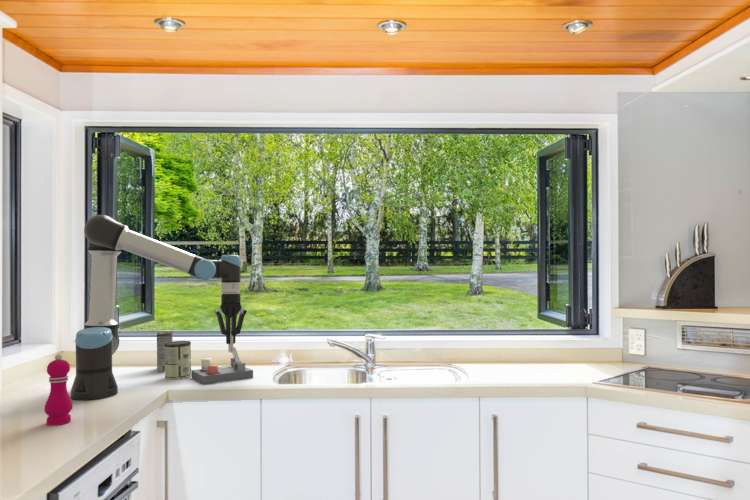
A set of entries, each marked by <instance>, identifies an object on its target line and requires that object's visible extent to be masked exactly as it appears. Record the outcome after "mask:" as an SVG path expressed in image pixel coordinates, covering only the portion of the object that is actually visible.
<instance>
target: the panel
mask: <svg viewBox="0 0 750 500" xmlns="http://www.w3.org/2000/svg"><path fill="white" fill-rule="evenodd" d="M240 362H241V363H237V367H236V362H233V365H234V366H231V365H225V366H218V374H212V375H208V371H205V372H202V371H201V369H200V368H199V369H191V376H190V377H192V379H193V380H195V381H197V382H198V381H199V383H200V384H202V385H207V384H215V383H216V382H217V383H224V382H230V381H238V380H246V379H253V378H254V369H251V368H249V367H246V362H242V360H240Z"/></svg>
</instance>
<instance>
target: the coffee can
mask: <svg viewBox="0 0 750 500" xmlns="http://www.w3.org/2000/svg"><path fill="white" fill-rule="evenodd" d="M191 344H192V342H191V341H189V340H175V341H174V340H173V342H167V343H164V346H165V371H164V378H165V379H166V380H182V379H183V378H184V379H187V378H190V377H191V370H192V367H191V366H192V361H191V358H192V357H191V354H192V353H191V352H192V351H191Z"/></svg>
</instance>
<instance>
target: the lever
mask: <svg viewBox="0 0 750 500" xmlns="http://www.w3.org/2000/svg"><path fill="white" fill-rule="evenodd" d="M232 356H233V358H234V359H235V362H236V367H237V363H242V361H241V359H240V357H239V354H238V351H237V348H236V347H235V346H233V352H232ZM240 361H241V362H240Z"/></svg>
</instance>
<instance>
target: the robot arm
mask: <svg viewBox="0 0 750 500" xmlns="http://www.w3.org/2000/svg"><path fill="white" fill-rule="evenodd" d="M83 231H84V235H85V238H86V239H87V242H88V243H87V252H88V253H89V254H90V256H91V270H90V271H91V272H90V273H91V274H90V276H91V277H90V291H89V292H90V297H89V299H90V300H89V319H88V320H87V321H86V322H85V323H84V326H83V327H84V328H83V329H80V330H78V331H77V332H76V334H75V340H74V342H75V378H74V379H73V383H72V386H71V388H70V395H69V396H70V398H71V400H79V401H80V400H81V401H83V400H84V401H85V400H86V401H87V400H88V401H89V400H97V399H104V398H110V397H113V396H115V395H117V394H118V392H119V389H118V388H119V387H118V384H117V380H116V379H115V376H114V373H113V355H114V354H115V353H116V351H117V350H118V348H119V346H120V336H119V323H118V321H117V320H116V319H115V312H116V311H115V310H116V309H115V308H116V287H117V285H116V283H117V266H118V263H117V262H118V256H119V255H120V254H121V253H122V250H123V251H126V252H129V253H131V254H134V255H136V256H139V257H142V258H144V259H148V260H150V261H153V262H156V263H158V264H160V265H164V266H166V267H169V268H172V269H174V270H177V271H180V272H183V273H185V274H188V275H189V276H190V279H196V280H202V281H208V280H212V279H219V280H220V279H221V280H220V281H221V284H220V285H221V287H220V289H221V290H220V291H221V297H220V298H221V301H220V302H221V303H220V307H219V309H218V310H215V311H214V314H215V316H216V317H217V321H218V324H219V328H220V329H219V330H220V332H221V335H223V336H225V343H226V344H227V345H228V346H227V348H228V353H232V352H233V347H234V344H236V336H237V335H239V334H241V331H242V327H243V323H244V318H245V316H246V314H247V312H248V310H246V309H243V308H242V305H241V272H242V271H241V269H242V266H241V256H240V255H237V254H223V255H221V256H220V257H221V258H220V259H208V258H205V257H201V256H199V255H196V254H193V253H190V252H188V251H186V250H183V249H180V248H178V247H175V246H173V245H170V244H168V243H165V242H162V241H159V240H157V239H154V238H152V237H149V236H146V235H144V234H142V233H139V232H136V231H134V230H131V229H129V226H128V225H127V224H123V223H121V222H120V221H119V220H117V219H116V218H115V217H112V216H109V215H106V214H97V215H94V216H91V217H90V218H89V219H88V220H87V221H86V223H85V225H84V230H83ZM222 314H223V315H224V318H225V323H224V318H223V316H222ZM238 314H239V316H237V315H238Z"/></svg>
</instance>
